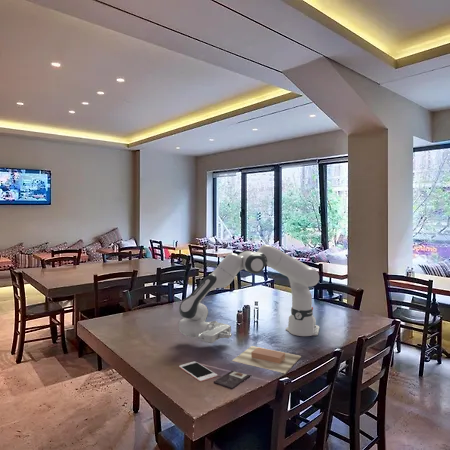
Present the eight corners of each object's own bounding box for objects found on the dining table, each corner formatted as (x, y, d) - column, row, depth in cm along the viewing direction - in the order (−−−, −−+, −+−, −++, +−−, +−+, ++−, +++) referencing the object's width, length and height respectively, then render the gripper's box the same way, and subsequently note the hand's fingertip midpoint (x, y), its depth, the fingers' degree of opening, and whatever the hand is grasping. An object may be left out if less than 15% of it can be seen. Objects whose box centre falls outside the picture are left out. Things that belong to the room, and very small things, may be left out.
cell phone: (200, 382, 148) (200, 380, 148) (178, 367, 162) (178, 365, 162) (217, 377, 153) (218, 374, 153) (195, 362, 168) (195, 360, 168)
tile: (257, 347, 177) (285, 353, 170) (257, 353, 177) (284, 358, 170) (251, 352, 171) (279, 358, 164) (251, 358, 171) (279, 364, 164)
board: (251, 346, 187) (251, 345, 187) (301, 357, 174) (301, 355, 174) (231, 362, 168) (231, 360, 168) (285, 374, 155) (285, 373, 155)
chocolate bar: (213, 381, 147) (238, 366, 162) (213, 384, 147) (238, 368, 162) (232, 387, 142) (255, 371, 157) (232, 390, 142) (255, 373, 157)
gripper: (195, 330, 178) (219, 335, 171) (216, 320, 196) (239, 324, 189) (195, 343, 178) (219, 348, 171) (216, 331, 196) (239, 336, 189)
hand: (230, 335), depth 180 cm, fingers closed
